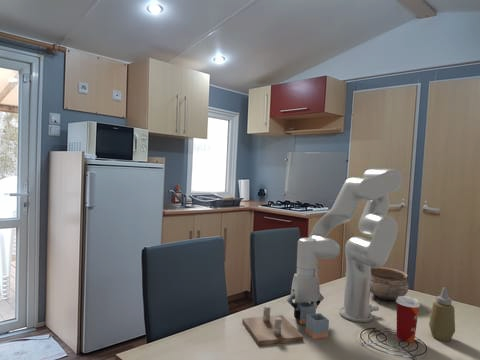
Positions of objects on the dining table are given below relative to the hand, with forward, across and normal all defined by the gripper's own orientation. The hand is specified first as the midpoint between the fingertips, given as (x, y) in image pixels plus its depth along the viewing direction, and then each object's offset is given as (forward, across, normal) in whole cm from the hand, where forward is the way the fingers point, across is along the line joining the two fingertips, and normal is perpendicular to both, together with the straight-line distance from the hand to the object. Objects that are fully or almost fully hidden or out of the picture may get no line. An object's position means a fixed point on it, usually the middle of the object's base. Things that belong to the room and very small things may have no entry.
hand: (304, 318), depth 130 cm
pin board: (+1, +16, +5) cm, 17 cm away
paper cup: (+2, -29, +19) cm, 35 cm away
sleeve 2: (+1, +1, +10) cm, 10 cm away
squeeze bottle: (+2, -43, +21) cm, 48 cm away
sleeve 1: (+1, 0, 0) cm, 1 cm away
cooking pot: (+3, -50, -16) cm, 53 cm away
